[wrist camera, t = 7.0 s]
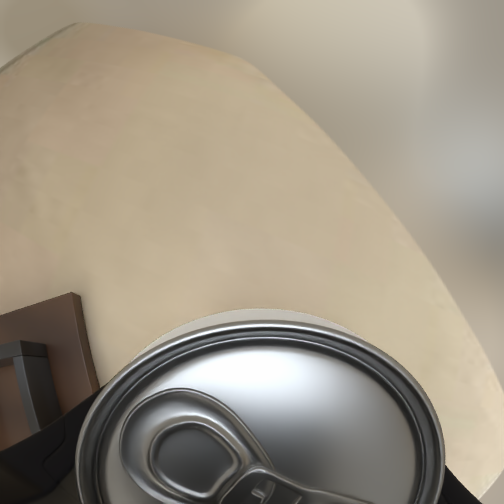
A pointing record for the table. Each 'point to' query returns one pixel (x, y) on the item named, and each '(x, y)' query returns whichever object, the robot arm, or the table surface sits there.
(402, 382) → the can
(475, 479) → the table surface
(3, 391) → the dark brown square tray
